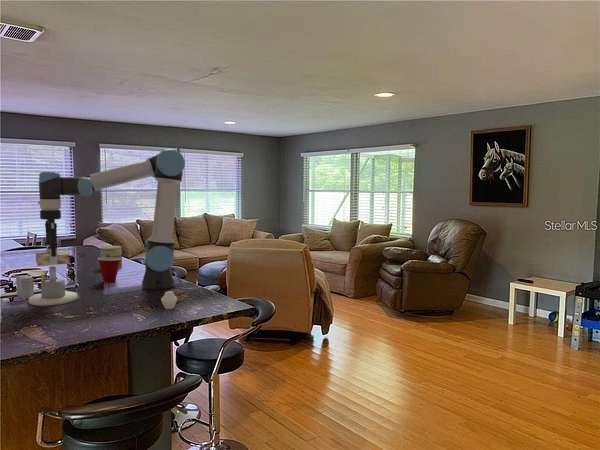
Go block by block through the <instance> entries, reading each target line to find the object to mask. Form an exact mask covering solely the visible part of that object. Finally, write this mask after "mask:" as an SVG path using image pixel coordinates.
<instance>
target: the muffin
mask: <svg viewBox="0 0 600 450" xmlns="http://www.w3.org/2000/svg"><path fill="white" fill-rule="evenodd" d="M160 300H161V304H162V305H163V307H164V308H165V309H166V310H172V309H174V307H175V305H176V303H177V301H178V296H176V295H175V294H174V291H172V290H168V291H165V292H164V295H163V296H162V297H161V298H160Z"/></svg>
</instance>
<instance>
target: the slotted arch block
mask: <svg viewBox="0 0 600 450" xmlns="http://www.w3.org/2000/svg"><path fill="white" fill-rule="evenodd" d="M69 257H70V255H69V253H68V252H67V251H66V250H57V264H55V265H54V266H56V265H57V266H58V265H69V264H70V258H69ZM35 262H36V265H37V266H38V267H41V266H42V267H43V266H51V265H50V258H49V252H47V251H39V252H38V251H35Z"/></svg>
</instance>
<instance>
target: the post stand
mask: <svg viewBox="0 0 600 450" xmlns="http://www.w3.org/2000/svg"><path fill="white" fill-rule="evenodd" d="M48 268H49V269H48V272H49V276H48V277H49V279H46V275H45V274H41V282H40V293H38V294H34V295H33V296H31V297H29V298H28V299H27V301H28V304H29V305H32V306H39V307H43V306H44V307H45V306H46V307H47V306H48V307H49V306H56V305H57V306H59V305H63V304H69V303H72V302H74V301H76V300H77V299H78V292H75V291H68V290H66V280H65V279H64V278H57V267H56V265H51V266H48Z"/></svg>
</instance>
